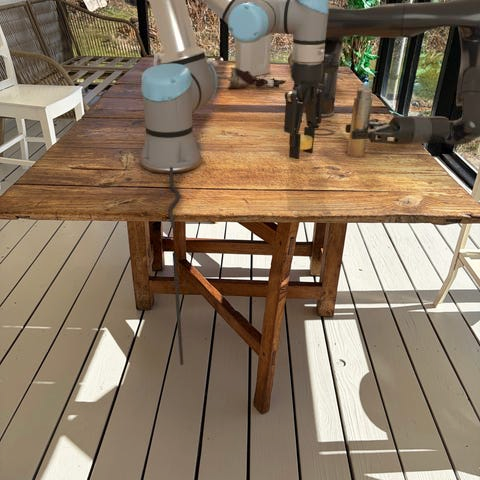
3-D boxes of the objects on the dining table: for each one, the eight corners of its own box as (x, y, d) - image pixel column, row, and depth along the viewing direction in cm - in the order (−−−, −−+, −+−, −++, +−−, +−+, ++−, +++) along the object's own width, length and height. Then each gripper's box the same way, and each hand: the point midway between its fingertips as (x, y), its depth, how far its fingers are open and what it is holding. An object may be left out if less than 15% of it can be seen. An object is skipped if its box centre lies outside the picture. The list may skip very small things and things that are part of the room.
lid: (312, 143, 125) (313, 135, 124) (310, 150, 121) (311, 142, 120) (293, 142, 126) (293, 133, 125) (290, 148, 122) (290, 140, 121)
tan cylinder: (357, 158, 128) (367, 92, 119) (343, 153, 131) (352, 89, 122) (367, 154, 131) (377, 89, 122) (353, 149, 133) (362, 86, 125)
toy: (173, 75, 210) (172, 58, 207) (149, 64, 228) (148, 49, 224) (220, 69, 222) (220, 53, 218) (194, 59, 239) (193, 45, 236)
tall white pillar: (273, 76, 210) (276, 6, 196) (239, 77, 209) (240, 6, 194) (266, 67, 226) (268, 2, 212) (235, 67, 225) (235, 1, 210)
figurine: (210, 87, 179) (288, 95, 182) (212, 65, 176) (291, 73, 180) (208, 84, 201) (278, 91, 205) (210, 64, 198) (280, 71, 202)
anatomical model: (297, 75, 231) (295, 75, 217) (284, 62, 230) (281, 61, 216) (315, 54, 226) (315, 52, 212) (302, 41, 225) (301, 38, 211)
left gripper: (296, 69, 105) (290, 168, 117) (342, 58, 117) (332, 149, 129) (270, 65, 110) (267, 160, 122) (317, 55, 121) (309, 143, 133)
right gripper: (402, 109, 133) (342, 110, 131) (424, 124, 121) (359, 126, 119) (397, 135, 137) (339, 136, 135) (418, 152, 125) (355, 154, 123)
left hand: (300, 154), depth 125 cm, fingers closed on lid, 5 cm apart
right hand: (349, 131), depth 127 cm, fingers closed on tan cylinder, 4 cm apart
